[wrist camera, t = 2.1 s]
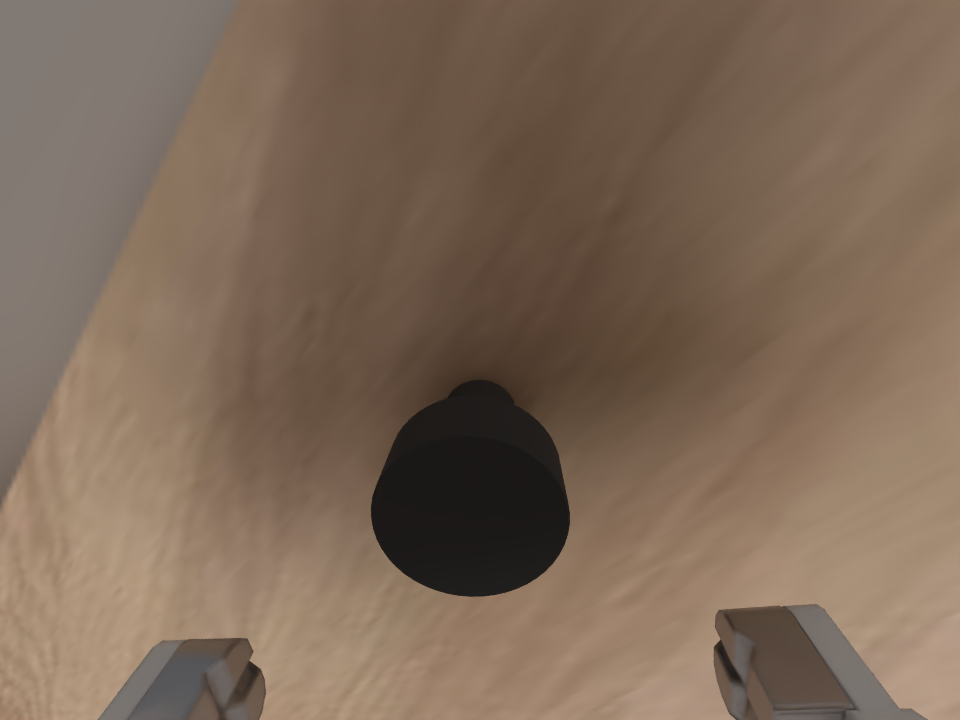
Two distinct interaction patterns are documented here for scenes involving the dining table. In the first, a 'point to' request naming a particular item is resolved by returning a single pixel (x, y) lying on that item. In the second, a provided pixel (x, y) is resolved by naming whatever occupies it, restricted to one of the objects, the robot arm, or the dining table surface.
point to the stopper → (472, 495)
